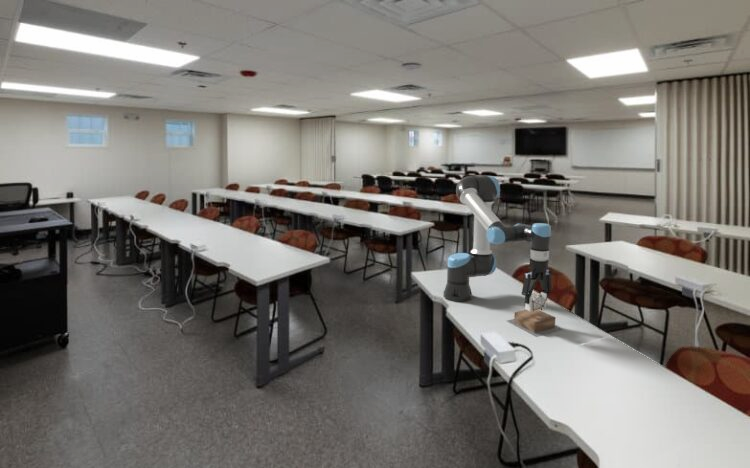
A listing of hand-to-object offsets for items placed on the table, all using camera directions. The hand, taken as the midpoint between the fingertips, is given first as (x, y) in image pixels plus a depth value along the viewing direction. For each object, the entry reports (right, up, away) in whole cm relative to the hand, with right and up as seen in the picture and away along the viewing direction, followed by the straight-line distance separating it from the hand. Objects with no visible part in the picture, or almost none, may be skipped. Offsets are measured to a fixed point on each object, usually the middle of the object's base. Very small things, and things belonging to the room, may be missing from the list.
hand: (535, 308), depth 175 cm
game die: (0, -1, 0) cm, 1 cm away
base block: (0, -8, +2) cm, 8 cm away
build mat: (0, -8, +2) cm, 8 cm away
